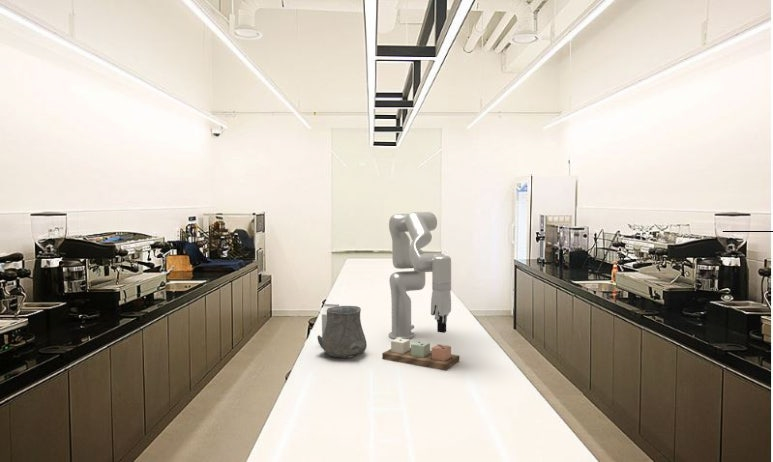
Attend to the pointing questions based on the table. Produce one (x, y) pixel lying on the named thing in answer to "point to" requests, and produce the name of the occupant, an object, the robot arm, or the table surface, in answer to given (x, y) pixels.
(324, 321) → the milk carton
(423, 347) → the tile two pip
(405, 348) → the tile one pip
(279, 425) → the table surface
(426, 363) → the tray
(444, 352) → the tile three pip
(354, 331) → the vessel
